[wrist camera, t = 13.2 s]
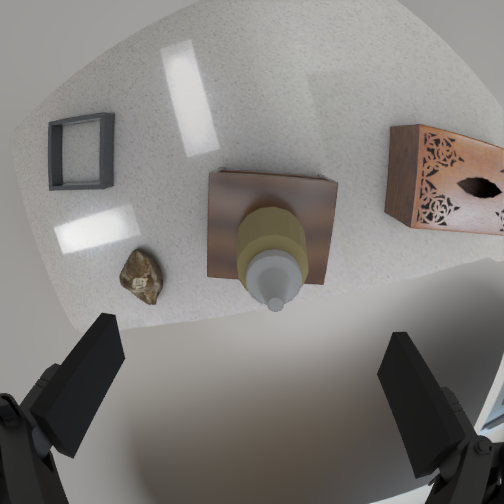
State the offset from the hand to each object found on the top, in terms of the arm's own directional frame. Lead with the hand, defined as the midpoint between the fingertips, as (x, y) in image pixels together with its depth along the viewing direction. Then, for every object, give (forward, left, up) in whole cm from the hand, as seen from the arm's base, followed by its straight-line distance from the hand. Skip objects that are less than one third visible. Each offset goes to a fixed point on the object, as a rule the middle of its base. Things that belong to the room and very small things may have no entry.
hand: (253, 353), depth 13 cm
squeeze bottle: (+2, +1, -26) cm, 26 cm away
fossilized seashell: (+14, -20, -36) cm, 43 cm away
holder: (-8, -32, -36) cm, 48 cm away
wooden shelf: (+2, +1, -36) cm, 36 cm away
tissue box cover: (-8, +33, -36) cm, 50 cm away
